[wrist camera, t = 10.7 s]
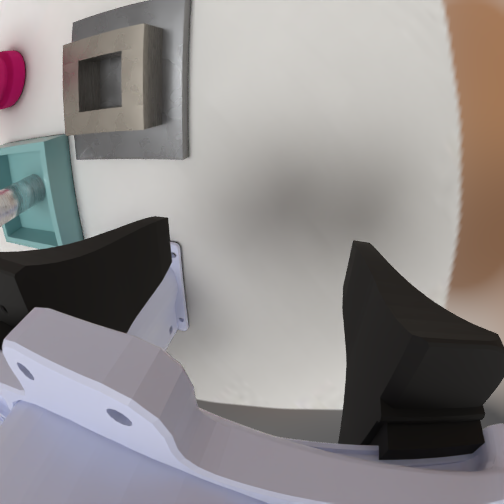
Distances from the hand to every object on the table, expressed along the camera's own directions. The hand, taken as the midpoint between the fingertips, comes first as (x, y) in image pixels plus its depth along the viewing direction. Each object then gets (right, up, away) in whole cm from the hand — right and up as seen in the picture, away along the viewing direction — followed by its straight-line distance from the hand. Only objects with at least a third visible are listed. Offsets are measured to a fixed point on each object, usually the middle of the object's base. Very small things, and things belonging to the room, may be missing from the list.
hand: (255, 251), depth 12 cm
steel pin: (-21, +6, +13) cm, 26 cm away
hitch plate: (-9, +13, +7) cm, 17 cm away
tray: (-21, +6, +14) cm, 26 cm away
